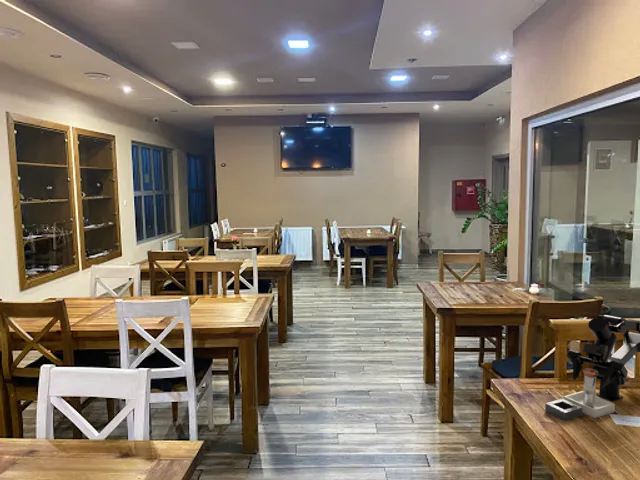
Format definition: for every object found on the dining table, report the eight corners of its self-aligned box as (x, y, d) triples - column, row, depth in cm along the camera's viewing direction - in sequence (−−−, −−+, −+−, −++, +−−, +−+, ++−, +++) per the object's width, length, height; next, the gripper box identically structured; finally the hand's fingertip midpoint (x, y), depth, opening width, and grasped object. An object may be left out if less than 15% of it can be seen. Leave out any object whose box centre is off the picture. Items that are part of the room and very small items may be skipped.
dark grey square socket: (561, 406, 168) (562, 398, 168) (582, 416, 161) (582, 407, 161) (545, 411, 165) (545, 403, 165) (565, 421, 158) (565, 412, 158)
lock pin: (585, 402, 170) (587, 367, 168) (598, 407, 166) (600, 371, 164) (578, 405, 167) (580, 370, 166) (591, 410, 163) (593, 374, 162)
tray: (583, 398, 174) (583, 390, 174) (614, 412, 163) (614, 403, 163) (563, 404, 170) (563, 396, 170) (594, 418, 159) (594, 410, 159)
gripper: (569, 328, 174) (552, 364, 169) (624, 340, 158) (607, 380, 153) (580, 344, 179) (563, 380, 174) (634, 357, 163) (618, 397, 158)
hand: (587, 383), depth 165 cm, fingers open, 9 cm apart
